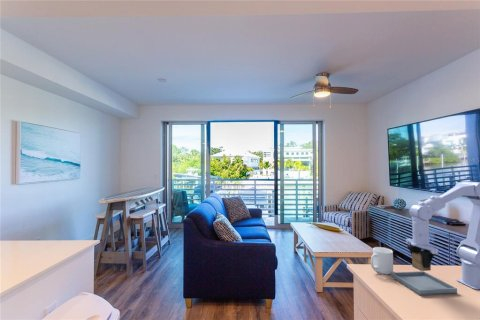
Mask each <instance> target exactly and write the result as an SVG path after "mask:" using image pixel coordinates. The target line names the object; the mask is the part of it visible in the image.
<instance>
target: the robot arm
mask: <svg viewBox="0 0 480 320" xmlns="http://www.w3.org/2000/svg"><path fill="white" fill-rule="evenodd" d="M462 196H463V197H465V198H466V199H468V200H469V201H470V202H471V203H472V208H471V209H472V210H471V214H470V220H469V223H468V229H467V234H466V238H465V239H463V240H461V241H460V242H459V245H458V247H457V248H456V251H455V252H456V255H457V257H459V261H461V278H457V279H456V281H457V282H459V283H461V284H463V285H466V286H467V287H469V288H472V289H474V290H480V181H479V182H478V181H467V180H462V181H459V183H455V186H453V187H452V188H450V189H448V190H447V191H446V192H444V193H442V194H441V195H439V196H438V195H430V196H429V198H428V199H426V200H424V201H421V202H420V203H419V204H413V205H412V206H411V207H410V208H409V210H408V213H409V215H410V217H411V221H412V223H411V225H412V238H405V244H409V245H407V247H406V248H407V249H408V250H409V252H410V254H411V256H412V253H416V252H420V253H421V256H422V261H423V267H424V268H429V267H430V263H431V264H432V260H433V259H434V258H435V256H436V255H438V254H439V249H438V248H436V247H434V246H433V245H431V244H430V221H429V220H431V219H432V217H433V215H434V214H435V213H437V212H439V211H441V210H442V209H444V208H446V204H447V203H449V202H451V201H453V200H456V199H458V198H460V197H462Z"/></svg>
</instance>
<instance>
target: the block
mask: <svg viewBox="0 0 480 320" xmlns="http://www.w3.org/2000/svg"><path fill="white" fill-rule="evenodd" d="M411 262H412V263H411V267H413V268H414V269H416V270H418V271H424V272H427V271H429V272H430V271H431V269H432V267H431V264H432V262H431V263H430V267H429V268H424V267H423V261H422V256H421V253H420V252H416V253H412V255H411Z"/></svg>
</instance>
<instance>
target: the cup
mask: <svg viewBox="0 0 480 320" xmlns="http://www.w3.org/2000/svg"><path fill="white" fill-rule="evenodd" d="M393 253H394V251H393V250H392V249H390V248H387V247H382V246H381V247H380V246H375V247H373V248H372V255H371V257H370V266H371V268H372V269H373V270H374V272H377V273H379V274H382V275H391V273H394V254H393Z"/></svg>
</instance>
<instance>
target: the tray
mask: <svg viewBox="0 0 480 320" xmlns="http://www.w3.org/2000/svg"><path fill="white" fill-rule="evenodd" d="M390 278H392V279H393V280H394V281H396V282H398V283H399V284H401V285H403V286H404V287H406V288H407V289H409V290H410V291H412V292H414V293H415V294H417V295H418V296H421V297H422V296H435V295H438V296H440V295H454V294H458V288H457V287H455V286H453V285H452V284H449V283H448V282H445V281H444V280H442V279H440V278H437V277H436V276H434V275H433V274H432V275H431V274H429V273H428V272H427V271H420V270H418V271H398V272H395V271H393V273H391V274H390Z"/></svg>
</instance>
